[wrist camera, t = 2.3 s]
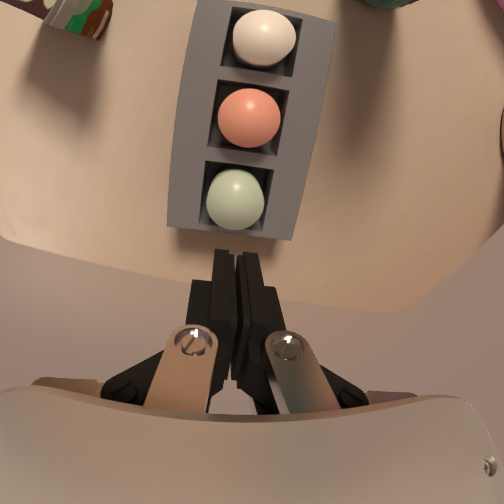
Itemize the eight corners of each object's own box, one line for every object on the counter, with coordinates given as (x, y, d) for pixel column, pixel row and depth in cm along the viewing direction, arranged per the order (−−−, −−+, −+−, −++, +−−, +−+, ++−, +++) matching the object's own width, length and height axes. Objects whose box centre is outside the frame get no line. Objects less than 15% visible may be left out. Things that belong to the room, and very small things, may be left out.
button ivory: (288, 31, 16) (300, 16, 13) (280, 74, 18) (290, 67, 15) (237, 22, 16) (238, 5, 12) (228, 65, 18) (228, 56, 14)
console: (319, 36, 18) (336, 23, 14) (282, 219, 26) (291, 240, 22) (204, 16, 16) (198, -2, 13) (176, 206, 25) (166, 226, 21)
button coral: (275, 97, 19) (285, 94, 16) (267, 144, 21) (274, 152, 17) (224, 89, 18) (222, 84, 15) (216, 137, 20) (213, 143, 17)
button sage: (262, 168, 22) (268, 180, 18) (254, 213, 24) (258, 233, 20) (213, 161, 21) (209, 172, 18) (207, 207, 23) (203, 226, 20)
